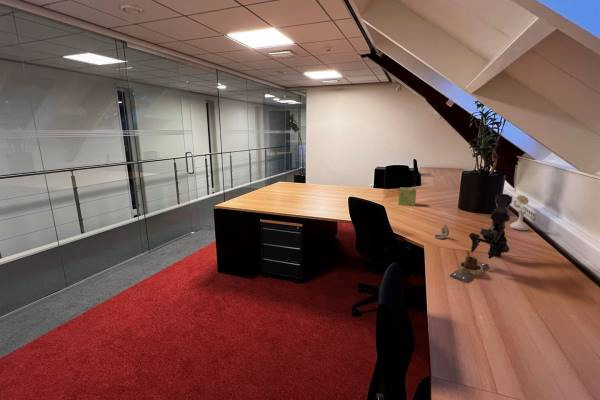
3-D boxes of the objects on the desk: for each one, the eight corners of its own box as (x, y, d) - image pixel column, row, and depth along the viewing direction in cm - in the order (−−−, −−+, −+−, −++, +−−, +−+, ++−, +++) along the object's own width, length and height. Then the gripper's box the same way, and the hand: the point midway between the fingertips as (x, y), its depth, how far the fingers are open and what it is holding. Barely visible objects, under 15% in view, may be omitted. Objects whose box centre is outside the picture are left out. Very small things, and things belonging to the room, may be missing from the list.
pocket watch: (433, 237, 202) (434, 223, 200) (437, 234, 208) (438, 221, 206) (445, 240, 197) (447, 226, 194) (450, 237, 203) (451, 223, 200)
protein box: (415, 206, 285) (416, 190, 281) (398, 204, 290) (399, 189, 286) (415, 203, 294) (416, 188, 291) (398, 202, 300) (399, 187, 296)
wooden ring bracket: (470, 260, 167) (470, 255, 166) (491, 267, 159) (492, 262, 158) (446, 275, 151) (447, 269, 150) (469, 283, 142) (470, 278, 142)
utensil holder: (479, 272, 153) (482, 251, 150) (469, 274, 152) (472, 252, 149) (469, 267, 159) (472, 246, 156) (460, 269, 157) (463, 248, 154)
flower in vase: (532, 231, 212) (539, 197, 206) (516, 231, 212) (522, 197, 207) (519, 225, 225) (525, 193, 219) (504, 225, 225) (509, 193, 219)
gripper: (473, 218, 163) (457, 241, 161) (509, 228, 147) (493, 253, 145) (479, 229, 169) (465, 251, 166) (515, 240, 153) (500, 264, 150)
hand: (480, 255), depth 157 cm, fingers open, 9 cm apart
